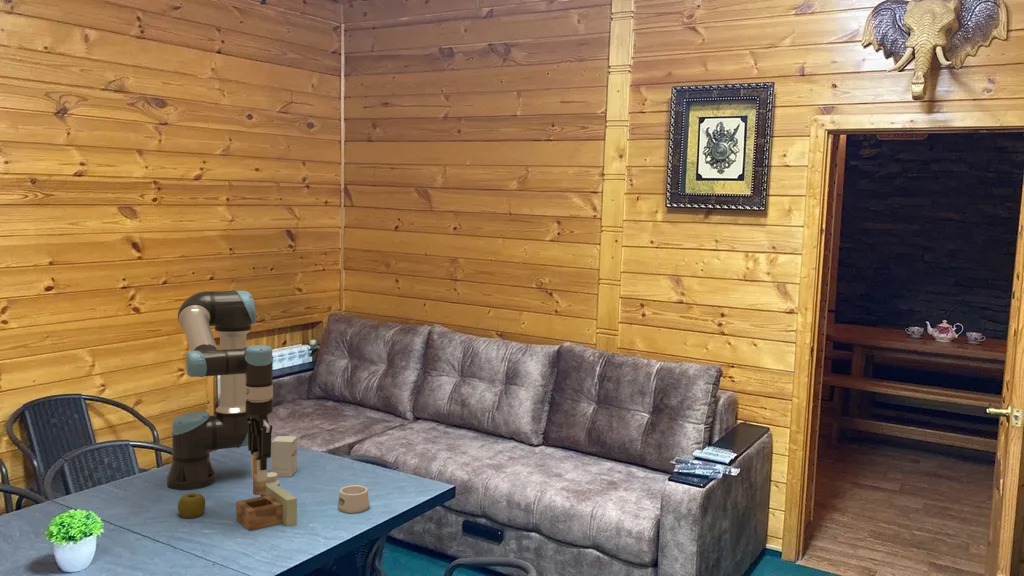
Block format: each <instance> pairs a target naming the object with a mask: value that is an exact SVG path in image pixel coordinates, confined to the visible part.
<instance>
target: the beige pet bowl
mask: <svg viewBox="0 0 1024 576" xmlns="http://www.w3.org/2000/svg"><path fill="white" fill-rule="evenodd" d="M337 501H338V502H337V508H338V510H339V511H340V512H342V513H345V514H357V513H358V514H359V513H362V512H365V511H366V510H368V508H369V507H370V499H369V489H368V488H367V487H366V486H364V485H358V484H356V485H355V484H353V485H347V486H343V487H341V488H340V489H339V493H338V500H337Z"/></svg>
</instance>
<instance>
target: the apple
mask: <svg viewBox="0 0 1024 576" xmlns="http://www.w3.org/2000/svg"><path fill="white" fill-rule="evenodd" d="M206 502H207V501H206V499H205V497H204V495H202V494H201V493H199V492H198V493H197V492H196V493H195V492H192V493H191V492H190V493H186V494H184V495H182V496H181V497H180V498H179V500H178V503H177V509H178V514H179V515H180V517H181V518H183V519H194V518H197V517H198V518H199V517H200V516H202V515H203V514H204V512H205V508H206V504H207V503H206Z"/></svg>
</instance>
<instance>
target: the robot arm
mask: <svg viewBox="0 0 1024 576" xmlns="http://www.w3.org/2000/svg"><path fill="white" fill-rule="evenodd" d="M177 320H178V323H179V326H180V327H181V329H183V331H184V333H185V336H186V337H185V338H186V340H187V344H188V349H189V351H188V352H186V354H185V369H186V375H187V377H191V378H204V377H215V376H219V379H220V381H219V382H220V383H219V384H220V385H219V388H220V391H219V392H220V393H219V394H220V395H219V397H220V398H219V402H220V403H219V406H217V407H216V408H215V414H213V415H211V414H210V413H209V411H205V410H201V411H200V410H197V411H191V412H187V413H184V414H180V415H178V416H177V417H175V418H174V419H173V421H172V424H171V425H172V426H171V427H172V428H171V437H172V439H171V441H172V442H171V445H172V449H171V450H172V451H171V453H172V454H171V457H172V460H171V465H170V467H169V468H170V469H169V470H168V473H167V478H166V485H167V487H169V488H171V489H173V490H196V489H201V488H205V487H208V486H210V485H212V484H213V483H215V481H216V473H215V470H214V467H213V463H212V461H211V457H210V452H211V451H215V450H216V451H217V450H225V449H235V448H237V449H239V448H240V449H241V448H243V447H247V450H248V451H249V452H250V454H251V478H252V479H253V453H254V452H258V456H259V457H258V458H256V460H257V481H263V480H267V473H268V459H271V442H272V432H273V424H270V425H269V419H268V415H269V414H271V413H272V412H273V410H274V409H273V408H274V405H273V404H274V402H273V397H274V384H273V379H274V378H273V375H274V374H273V369H274V368H273V364H274V363H273V361H274V356H273V348H272V347H271V346H269V345H264V344H263V345H261V344H259V345H247V336H248V335H247V334H249V333H250V331H251V330H252V326H253V325H255V324H256V323H257V312H256V306H255V301H254V298H253V296H252V294H251V292H249V291H246V290H217V291H215V290H214V291H213V290H212V291H207V290H206V291H205V290H204V291H201V292H200V291H199V292H196V293H194V294H193V295H191V296H189V297H187V298H186V299H185V300H184V301H183V302H182V304H181V305H180V307H179V308H178V313H177ZM212 327H214V332H215V333H217V334H218V335H219V349H218V347H217V343H216V340H215V337H214V334H213V332H212V329H211V328H212Z"/></svg>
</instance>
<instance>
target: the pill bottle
mask: <svg viewBox="0 0 1024 576" xmlns="http://www.w3.org/2000/svg"><path fill="white" fill-rule="evenodd" d="M278 478H279V477H278V474H277V473H274V472H271V471H270V472H268V471H267V480H266V485H268V484H273V483H275V484H277V485H278V486H279V487H280V481H279V479H278ZM262 496H265V494H264V495H259V497H262Z"/></svg>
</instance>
